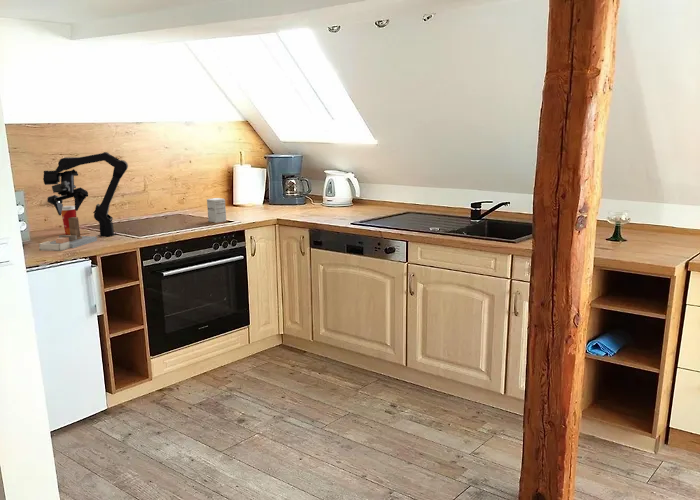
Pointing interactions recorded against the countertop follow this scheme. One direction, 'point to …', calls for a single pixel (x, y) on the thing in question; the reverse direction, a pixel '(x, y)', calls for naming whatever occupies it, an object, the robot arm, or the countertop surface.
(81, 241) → the board
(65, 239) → the tile
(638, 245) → the countertop surface
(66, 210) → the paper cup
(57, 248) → the tray
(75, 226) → the scraper
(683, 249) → the countertop surface
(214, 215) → the supplement box
